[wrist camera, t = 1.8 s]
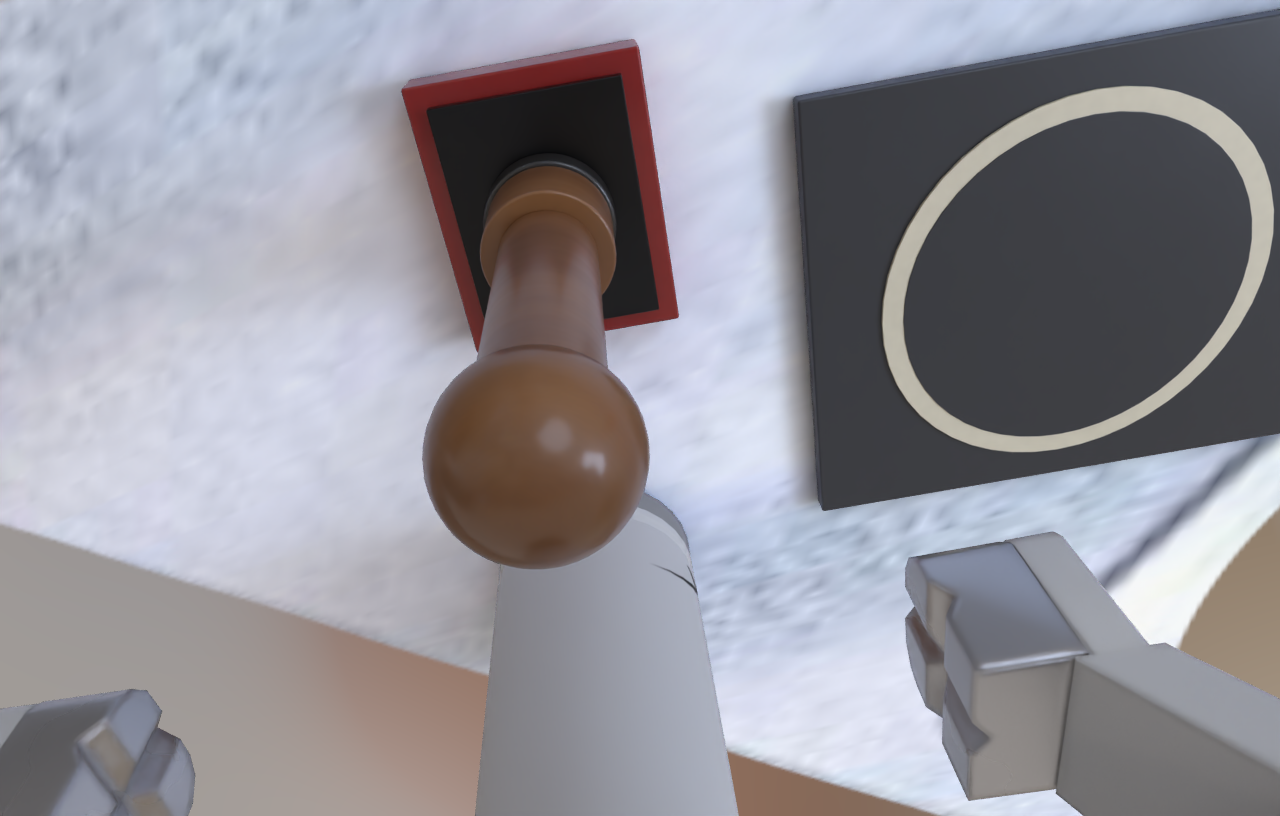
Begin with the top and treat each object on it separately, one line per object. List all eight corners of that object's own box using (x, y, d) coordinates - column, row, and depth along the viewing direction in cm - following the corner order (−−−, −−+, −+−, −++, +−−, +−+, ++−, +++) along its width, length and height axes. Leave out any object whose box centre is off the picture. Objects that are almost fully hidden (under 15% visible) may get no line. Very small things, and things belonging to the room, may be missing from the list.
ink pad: (408, 79, 21) (397, 91, 20) (635, 38, 21) (640, 47, 20) (480, 334, 25) (476, 359, 23) (674, 301, 24) (680, 323, 23)
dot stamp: (470, 164, 21) (371, 444, 10) (602, 141, 21) (638, 397, 10) (502, 287, 22) (445, 635, 12) (624, 265, 22) (675, 597, 12)
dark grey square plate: (791, 96, 22) (798, 102, 21) (1387, -11, 21) (1412, -8, 21) (818, 500, 28) (823, 514, 28) (1272, 423, 28) (1288, 435, 28)
